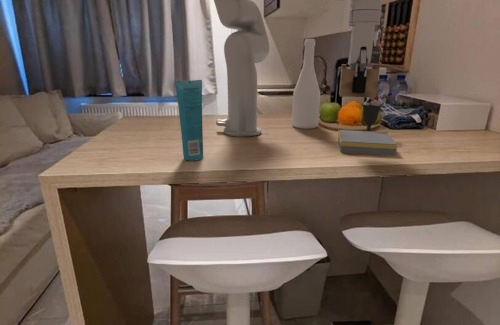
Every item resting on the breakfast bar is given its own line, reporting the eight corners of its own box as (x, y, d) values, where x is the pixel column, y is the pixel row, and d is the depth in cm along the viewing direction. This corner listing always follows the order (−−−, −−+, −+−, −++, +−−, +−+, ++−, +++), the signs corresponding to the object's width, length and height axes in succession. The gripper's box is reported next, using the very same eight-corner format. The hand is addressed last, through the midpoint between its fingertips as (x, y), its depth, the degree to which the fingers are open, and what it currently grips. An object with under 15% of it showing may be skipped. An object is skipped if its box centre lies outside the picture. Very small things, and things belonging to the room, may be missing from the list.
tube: (198, 153, 86) (194, 78, 80) (210, 156, 83) (208, 79, 77) (175, 159, 81) (169, 80, 75) (187, 163, 78) (183, 81, 72)
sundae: (380, 138, 103) (387, 90, 98) (358, 137, 104) (364, 89, 100) (377, 133, 109) (383, 87, 104) (356, 132, 110) (361, 87, 106)
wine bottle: (297, 129, 114) (302, 38, 104) (288, 124, 122) (291, 39, 113) (322, 128, 116) (329, 38, 106) (311, 123, 125) (317, 39, 115)
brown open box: (340, 96, 86) (342, 64, 83) (339, 93, 92) (341, 64, 89) (375, 97, 84) (379, 65, 82) (372, 94, 90) (376, 64, 88)
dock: (339, 152, 88) (340, 141, 87) (337, 139, 101) (338, 129, 100) (395, 155, 85) (397, 144, 84) (385, 142, 99) (386, 132, 98)
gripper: (346, 22, 91) (341, 88, 97) (351, 15, 75) (344, 94, 80) (375, 22, 89) (367, 88, 95) (386, 15, 73) (376, 95, 79)
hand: (357, 90), depth 88 cm, fingers closed on brown open box, 6 cm apart
